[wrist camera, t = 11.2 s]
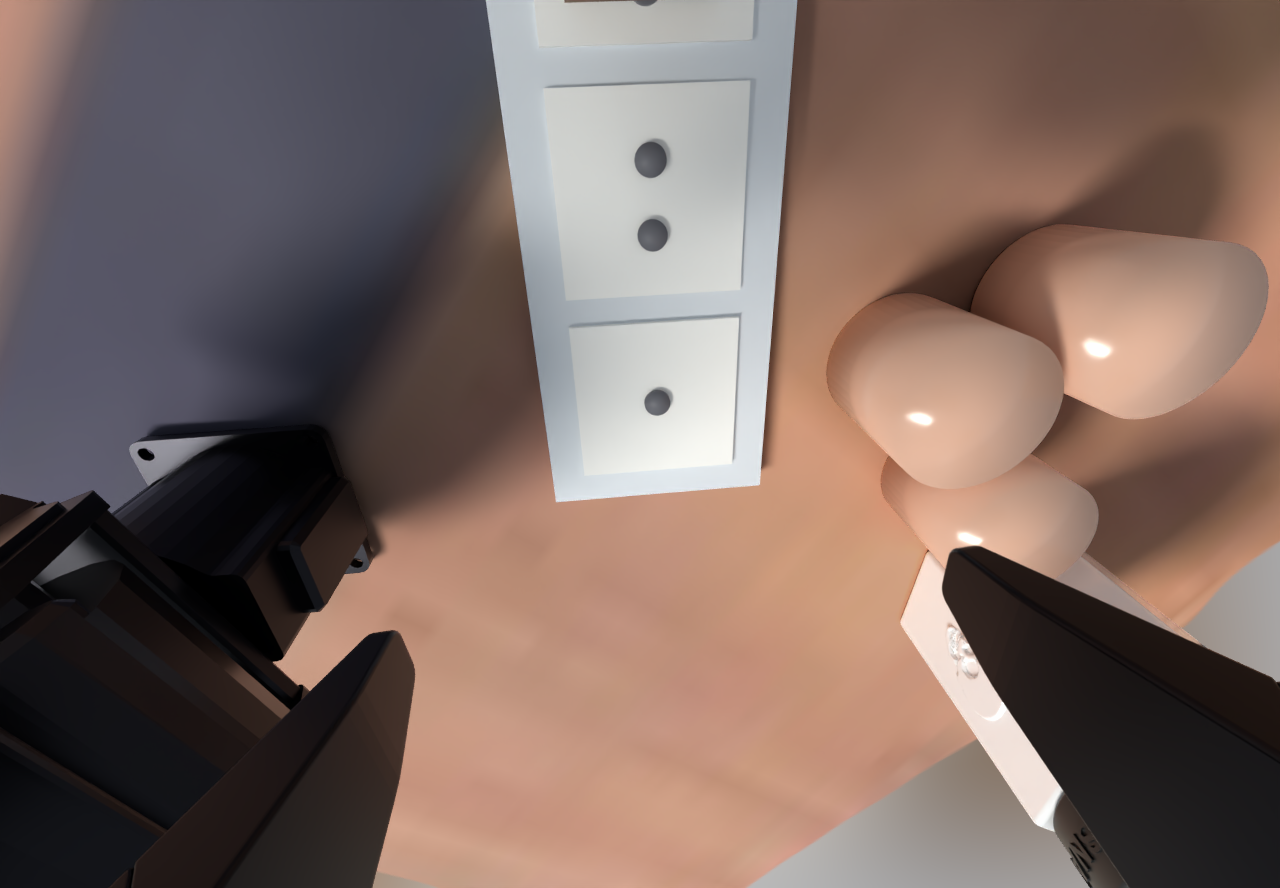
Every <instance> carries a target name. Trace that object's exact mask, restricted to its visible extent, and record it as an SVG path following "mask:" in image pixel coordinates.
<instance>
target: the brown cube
mask: <svg viewBox="0 0 1280 888" xmlns="http://www.w3.org/2000/svg"><path fill="white" fill-rule="evenodd" d="M564 1H565V3H572V2H605V1H638V0H564Z"/></svg>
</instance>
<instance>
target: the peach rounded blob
mask: <svg viewBox="0 0 1280 888" xmlns="http://www.w3.org/2000/svg"><path fill="white" fill-rule="evenodd" d="M1268 288H1269V285H1268V276H1267V272H1266V269H1265V266H1264V264H1263V262H1262V261H1261V259H1260V258H1259V257H1258V256H1257V254H1256V253H1255V252H1253V251H1252V250H1250V249H1249V248H1247V247H1245V246H1242V245H1240V244H1236V243H1230V242H1222V241H1213V240H1205V239H1196V238H1187V237H1178V236H1169V235H1160V234H1151V233H1142V232H1133V231H1124V230H1115V229H1106V228H1097V227H1088V226H1079V225H1070V224H1057V225H1050V226H1046V227H1043V228H1040V229H1037V230H1035V231H1032V232H1030V233H1028V234H1027V235H1025V236H1023V237H1021V238H1020V239H1018V240H1017V241H1015V242H1014V243H1013V244H1011V245H1010V246H1009V247H1008V248H1007V249H1005V250H1004V251H1003V252H1002V253H1001V254H1000V255H999V256H998V257H997V259H996V260H995V261H994V262H993V263H992V265H991V266H990V267H989V269H988V270H987V272H986V273H985V274H984V276H983V278H982V280H981V282H980V283H979V285H978V288H977V290H976V292H975V295H974V298H973V302H972V306H971V311H970V313H972V314H975V315H977V316H980V317H983V318H985V319H988V320H990V321H993V322H995V323H998V324H1000V325H1003V326H1005V327H1008V328H1010V329H1013V330H1015V331H1018V332H1020V333H1023V334H1025V335H1028V336H1030V337H1033V338H1035V339H1037V340H1039V341H1041V342H1043V343H1044V344H1045V345H1046V346H1048V347H1049V348H1050V349H1051V350H1052V351H1053V353H1054V354H1055V355H1056V357H1057V359H1058V360H1059V362H1060V365H1061V368H1062V371H1063V377H1064V393H1065V394H1067V395H1069V396H1071V397H1073V398H1076V399H1078V400H1080V401H1082V402H1084V403H1086V404H1089V405H1091V406H1093V407H1095V408H1097V409H1100V410H1102V411H1104V412H1106V413H1108V414H1111V415H1113V416H1116V417H1119V418H1125V419H1143V418H1150V417H1154V416H1158V415H1162V414H1164V413H1167V412H1170V411H1172V410H1174V409H1176V408H1178V407H1181V406H1183V405H1184V404H1186V403H1188V402H1190V401H1191V400H1193V399H1195V398H1196V397H1198V396H1199V395H1200V394H1202V393H1203V392H1205V391H1206V390H1207V389H1209V388H1210V387H1211V386H1212V385H1214V384H1215V383H1216V382H1217V381H1218V380H1219V379H1220V378H1221V377H1222V376H1223V375H1225V374H1226V372H1227V371H1228V370H1229V369H1230V368H1231V367H1232V366H1233V365H1234V364H1235V363H1236V361H1237V360H1238V359H1239V358H1240V356H1241V355H1242V354H1243V352H1244V351H1245V349H1246V348H1247V347H1248V345H1249V344H1250V342H1251V340H1252V339H1253V337H1254V335H1255V333H1256V331H1257V329H1258V327H1259V325H1260V323H1261V320H1262V318H1263V315H1264V312H1265V309H1266V304H1267V299H1268Z"/></svg>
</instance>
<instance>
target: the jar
mask: <svg viewBox="0 0 1280 888" xmlns="http://www.w3.org/2000/svg"><path fill="white" fill-rule="evenodd" d="M944 573H945V568H944V567H943V566H942V565H941V563H940V562H939V561H938V560H937V559H936V558H935V557H934V555H933V554H932V553H931V552H930V551H928V552H927V553H926V555H925V558H924V561H923V563H922V566H921V568H920V571H919V574H918V576H917V579H916V581H915V584H914V587H913V589H912V592H911V594H910V597H909V600H908V602H907V605H906V608H905V610H904V613H903V615H902V618H901V621H900V624H901V626H902V627H903V629H904V630H905V632H906V633H907V635H908V636H909V638H910V639H911V641H912V642H913V644H914V645H915V647H916V648H917V650H918V651H919V653H920V654H921V656H922V657H923V659H924V660H925V662H926V663H927V665H928V666H929V667H930V669H931V670H932V672H933V673H934V675H935V676H936V678H937V679H938V681H939V682H940V684H941V685H942V687H943V688H944V690H945V691H946V693H947V694H948V696H949V697H950V699H951V700H952V702H953V703H954V705H955V706H956V708H957V709H958V711H959V712H960V713H961V715H962V716H963V718H964V719H965V721H966V722H967V724H968V725H969V727H970V728H971V730H972V731H973V733H974V734H975V736H976V737H977V739H978V740H979V742H980V743H981V745H982V746H983V748H984V749H985V750H986V752H987V754H988V755H989V756H990V758H991V759H992V761H993V762H994V764H995V765H996V767H997V768H998V770H999V771H1000V773H1001V774H1002V776H1003V777H1004V779H1005V780H1006V782H1007V783H1008V785H1009V786H1010V788H1011V789H1012V791H1013V792H1014V793H1015V795H1016V796H1017V798H1018V800H1019V801H1020V803H1021V804H1022V805H1023V807H1024V808H1025V810H1026V811H1027V813H1028V814H1029V816H1030V817H1031V819H1032V820H1033V822H1034V823H1035V824H1036V825H1038V826H1040V827H1042V828H1045V829H1048V830H1051V831H1054V832H1055V833H1056V835H1057V836H1058V838H1059V839H1060V841H1061V842H1062V844H1063V845H1064V847H1065V848H1066V849H1067V851H1068V852H1069V854H1070V855H1071V857H1072V858H1070V859H1071V860H1072V862H1073V864H1074V865H1075V867H1076V868H1077V869H1078V871H1079V872H1080V874H1081V875H1082V877H1083V878H1084V880H1085V881H1086V883H1087V884H1088V886H1089V887H1090V888H1129V887H1128V886H1127V884H1126V883H1125V882H1124V880H1123V879H1122V877H1121V876H1120V874H1119V873H1118V871H1117V870H1116V868H1115V867H1114V865H1113V864H1112V862H1111V861H1110V859H1109V858H1108V857H1107V855H1106V854H1105V852H1104V851H1103V849H1102V848H1101V846H1100V845H1099V843H1098V842H1097V840H1096V839H1095V837H1094V836H1093V834H1092V833H1091V831H1090V830H1089V829H1088V827H1087V826H1086V824H1085V823H1084V821H1083V820H1082V818H1081V817H1080V815H1079V814H1078V812H1077V811H1076V809H1075V808H1074V806H1073V805H1072V803H1071V802H1070V801H1069V799H1068V798H1067V796H1066V795H1065V793H1064V792H1063V790H1062V789H1061V787H1060V786H1059V784H1058V783H1057V781H1056V780H1055V778H1054V777H1053V776H1052V774H1051V773H1050V771H1049V770H1048V768H1047V767H1046V765H1045V764H1044V762H1043V761H1042V759H1041V758H1040V756H1039V755H1038V753H1037V752H1036V750H1035V749H1034V748H1033V746H1032V745H1031V743H1030V742H1029V740H1028V739H1027V737H1026V736H1025V734H1024V733H1023V731H1022V730H1021V728H1020V727H1019V725H1018V724H1017V723H1016V721H1015V720H1014V718H1013V717H1012V715H1011V714H1010V712H1009V711H1008V709H1007V708H1006V706H1005V705H1004V703H1003V702H1002V700H1001V699H1000V697H999V696H998V694H997V693H996V691H995V690H994V688H993V687H992V685H991V683H990V681H989V680H988V678H987V676H986V675H985V673H984V671H983V669H982V668H981V666H980V664H979V662H978V660H977V658H976V657H975V655H974V653H973V651H972V649H971V648H970V646H969V644H968V642H967V640H966V638H965V637H964V635H963V633H962V631H961V629H960V627H959V626H958V624H957V622H956V620H955V618H954V616H953V615H952V613H951V611H950V609H949V607H948V606H947V604H946V602H945V600H944V597H943V594H942V581H943V577H944ZM1055 580H1057V581H1059V582H1061V583H1064V584H1066V585H1068V586H1070V587H1072V588H1075V589H1077V590H1079V591H1081V592H1083V593H1086V594H1088V595H1090V596H1092V597H1095V598H1097V599H1099V600H1101V601H1103V602H1106V603H1108V604H1110V605H1112V606H1115V607H1117V608H1119V609H1121V610H1123V611H1126V612H1128V613H1130V614H1132V615H1134V616H1137V617H1139V618H1141V619H1143V620H1146V621H1148V622H1150V623H1152V624H1154V625H1157V626H1159V627H1161V628H1163V629H1166V630H1168V631H1170V632H1172V633H1174V634H1177V635H1179V636H1181V637H1183V638H1185V639H1188V640H1190V641H1192V642H1194V643H1197V644H1199V645H1201V646H1203V647H1205V646H1204V645H1202V644H1201V643H1200V642H1199V641H1197V640H1196V639H1195V638H1194V637H1192V636H1191V635H1190V634H1189V633H1187V632H1186V631H1185V630H1183V629H1182V628H1181V627H1180V626H1178V625H1177V624H1176V623H1175V622H1173V621H1172V620H1171V619H1169V618H1168V617H1167V616H1166V615H1164V614H1163V613H1162V612H1161V611H1159V610H1158V609H1157V608H1156V607H1154V606H1153V605H1152V604H1150V603H1149V602H1148V601H1147V600H1145V599H1144V598H1143V597H1142V596H1140V595H1139V594H1138V593H1136V592H1135V591H1134V590H1133V589H1131V588H1130V587H1129V586H1128V585H1126V584H1125V583H1124V582H1123V581H1121V580H1120V579H1119V578H1117V577H1116V576H1115V575H1114V574H1112V573H1111V572H1110V571H1109V570H1107V569H1106V568H1105V567H1103V566H1102V565H1101V564H1100V563H1098V562H1097V561H1096V560H1095V559H1093V558H1092V557H1091V556H1089V555H1088V554H1087V553H1086V552H1084V553H1083V554H1082V556H1081V557H1080V558H1079V559H1078V560H1077V561H1076V562H1075V563H1074V564H1073V565H1072V566H1071V567H1070V568H1069V569H1068V570H1066V571H1065V572H1064V573H1063V574H1061V575H1060V576H1058V577H1057V578H1056V579H1055ZM1205 648H1206V647H1205Z"/></svg>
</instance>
